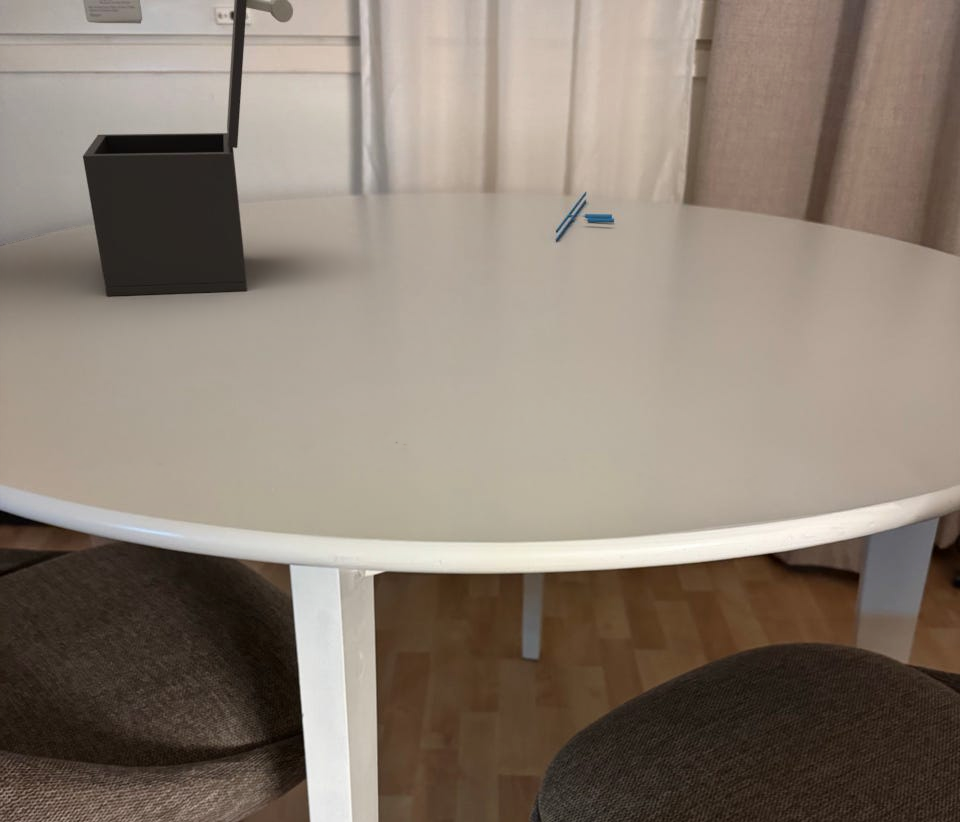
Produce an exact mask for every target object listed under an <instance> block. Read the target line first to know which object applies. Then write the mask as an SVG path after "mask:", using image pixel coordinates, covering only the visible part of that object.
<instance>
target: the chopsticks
mask: <svg viewBox="0 0 960 822" xmlns="http://www.w3.org/2000/svg"><path fill="white" fill-rule="evenodd" d="M587 192H588V191H585V192H584V193H583V194H582V195H581V197H579V199H578V201H577V202H576V203H575V204H574V205H573V207H572V209H570V211H569V212H568V213H567V215H566V216H565V217H564V218H563V220H562V221H561V223H560V224H559V225H558V227H557V228H556V229H555V234H558V233H559V232H560V233H559V234H558V235H557V237H556V238H555V243H556V242H558V241H559V240H560V238H561V237H562V236H563V235H564V233H565V232H566V230H568V228H569V227H570V225H571V224H572V223H573V222H575V221H577V219H576V217H577V216H578V214H579V213H580V212H581V210H582V209H583V207H585V204H586V203H587V199H584V198H585V197H586V196H587V194H588V193H587ZM582 201H583V202H582ZM581 202H582V203H581ZM580 204H581V205H580ZM579 205H580V206H579ZM578 206H579V207H578ZM577 207H578V209H577ZM576 209H577V210H576ZM575 210H576V211H575ZM574 212H575V213H574ZM573 213H574V214H573ZM582 217H583V218H584V219H585V221H587V223H600V224H601V223H605V224H607V223H608V224H609V223H610V224H614V223H615V218H614V217H613V214H612V213H584V215H582ZM569 219H570V220H569ZM566 222H567V223H566ZM565 224H566V225H565ZM564 225H565V226H564ZM563 226H564V227H563ZM561 229H562V230H561ZM560 230H561V231H560Z"/></svg>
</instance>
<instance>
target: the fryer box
mask: <svg viewBox="0 0 960 822" xmlns="http://www.w3.org/2000/svg"><path fill="white" fill-rule="evenodd" d="M82 161H83V166H84V172H85V177H86V183H87V189H88V195H89V202H90V207H91V213H92V219H93V224H94V230H95V235H96V241H97V247H98V253H99V259H100V264H101V265H100V266H101V271H102V277H103V282H104V287H105V294H106V296H107V297H114V296H115V297H119V296H121V297H122V296H143V295H144V296H145V295H148V296H149V295H171V294H173V295H174V294H175V295H176V294H197V293H224V292H225V293H226V292H247V291H248V285H247V273H246V261H245V251H244V242H243V241H244V239H243V230H242V222H241V213H240V211H241V210H240V203H239V201H240V200H239V193H238V183H237V182H238V181H237V173H236V162H235V153H234V148H233V147H228V136H227V132H211V133H210V132H209V133H208V132H207V133H206V132H205V133H204V132H203V133H202V132H201V133H200V132H199V133H197V132H196V133H131V134H130V133H123V134H122V133H120V134H119V133H118V134H115V133H114V134H113V133H112V134H111V133H110V134H97V135H96V137H94V139H93V141H92V142H91V144H90V145H89V147H88V148H87V149H86V150H85V152H84V154H83V155H82Z"/></svg>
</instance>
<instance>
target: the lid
mask: <svg viewBox="0 0 960 822" xmlns="http://www.w3.org/2000/svg"><path fill="white" fill-rule="evenodd" d="M233 1H234V3H233V17H232V18H233V19H232V20H233V21H232V34H231V35H232V37H231V52H230V70H229V86H228V101H227V103H228V104H227V119H226V133H227V136H228V147H233V149H238V143H239V128H240V112H241V97H242V82H243V67H244V66H243V65H244V52H245V50H244V49H245V37H246V35H245V34H246V21H247V20H246V18H247V9H251V10H257V11H262V12H265V13H269V14H270V15H271V16H272V17H273V18H274V19H275V20H276V21H278V22H280V23H287V22H290V20H292V18H293V15H294V7H293V5H292V3H291V2H290V1H289V0H270V1H269V0H233Z"/></svg>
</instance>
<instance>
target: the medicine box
mask: <svg viewBox="0 0 960 822" xmlns="http://www.w3.org/2000/svg"><path fill="white" fill-rule="evenodd" d="M82 3H83V7H84V12H85V16H86V20H87V22H88V23H94V24H138V25H139V24H142V21H143V13H142V7H141V0H82Z"/></svg>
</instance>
